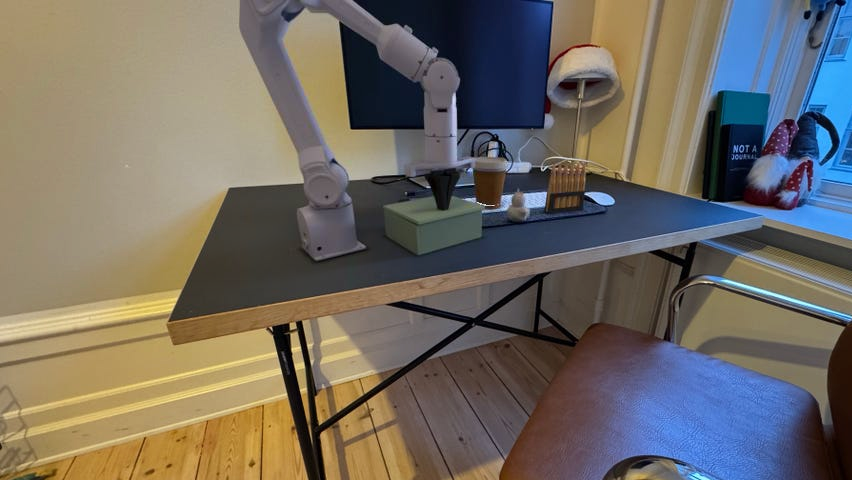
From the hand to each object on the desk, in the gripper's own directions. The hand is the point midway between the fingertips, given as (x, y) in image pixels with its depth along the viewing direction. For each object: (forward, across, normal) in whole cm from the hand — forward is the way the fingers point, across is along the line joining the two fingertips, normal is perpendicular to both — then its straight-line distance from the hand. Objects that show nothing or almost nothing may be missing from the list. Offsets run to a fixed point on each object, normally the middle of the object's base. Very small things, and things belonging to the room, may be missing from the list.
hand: (442, 209), depth 72 cm
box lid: (+1, 0, -3) cm, 3 cm away
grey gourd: (+7, -21, 0) cm, 22 cm away
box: (+7, 0, -4) cm, 8 cm away
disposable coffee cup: (+7, -24, -14) cm, 28 cm away
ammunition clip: (+7, -37, +2) cm, 38 cm away
